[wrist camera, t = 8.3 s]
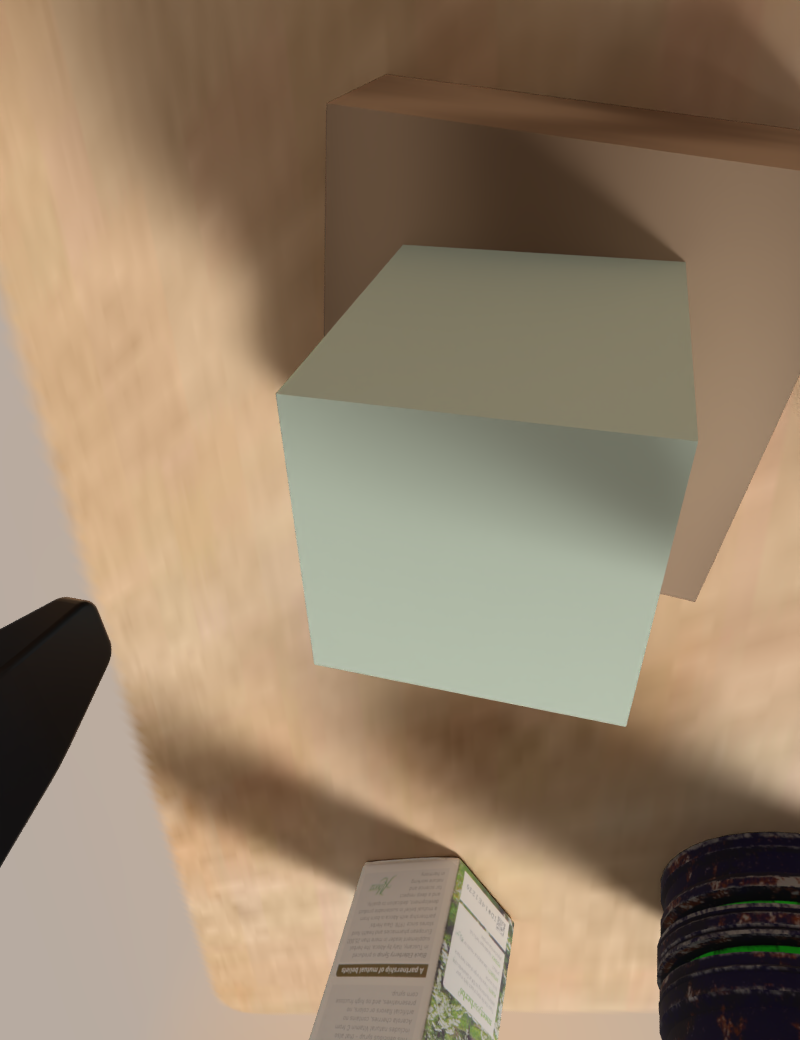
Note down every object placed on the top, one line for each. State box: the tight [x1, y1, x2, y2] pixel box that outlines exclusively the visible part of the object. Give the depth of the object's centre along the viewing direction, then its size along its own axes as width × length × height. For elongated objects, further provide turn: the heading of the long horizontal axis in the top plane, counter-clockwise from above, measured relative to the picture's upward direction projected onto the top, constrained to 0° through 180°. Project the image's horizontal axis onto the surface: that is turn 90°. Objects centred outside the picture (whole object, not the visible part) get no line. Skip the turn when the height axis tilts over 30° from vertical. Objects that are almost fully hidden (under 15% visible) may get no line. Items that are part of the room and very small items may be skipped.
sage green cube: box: [276, 245, 698, 727], centre depth 13 cm, size 5×5×6 cm
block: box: [324, 74, 800, 602], centre depth 16 cm, size 9×9×4 cm
